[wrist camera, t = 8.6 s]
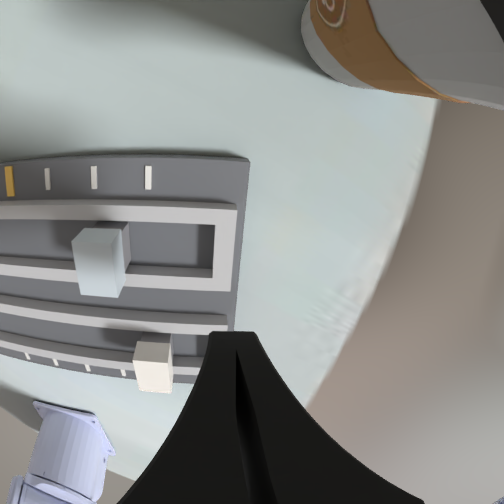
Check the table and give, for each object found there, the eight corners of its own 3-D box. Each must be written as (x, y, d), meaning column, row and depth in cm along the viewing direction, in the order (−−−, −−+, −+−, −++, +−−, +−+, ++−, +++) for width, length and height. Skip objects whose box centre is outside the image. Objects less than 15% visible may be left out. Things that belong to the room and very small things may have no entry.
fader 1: (133, 264, 16) (117, 297, 13) (100, 262, 16) (80, 294, 13) (130, 216, 15) (111, 243, 12) (95, 216, 15) (71, 241, 12)
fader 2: (175, 355, 19) (171, 393, 16) (146, 353, 19) (139, 390, 16) (173, 325, 18) (167, 363, 15) (142, 323, 18) (132, 360, 15)
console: (228, 372, 22) (229, 394, 20) (-3, 343, 19) (-13, 358, 17) (247, 158, 16) (252, 166, 14) (-51, 170, 12) (-69, 179, 10)
